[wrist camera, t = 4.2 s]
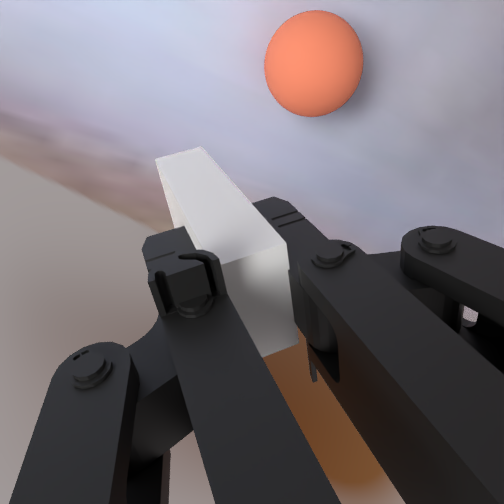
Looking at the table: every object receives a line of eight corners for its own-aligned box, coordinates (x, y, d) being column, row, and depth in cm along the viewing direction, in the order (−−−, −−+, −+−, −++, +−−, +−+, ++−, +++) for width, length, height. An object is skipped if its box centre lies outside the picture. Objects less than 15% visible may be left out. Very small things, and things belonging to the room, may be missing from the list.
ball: (257, 114, 28) (293, 138, 24) (244, 18, 25) (283, 25, 20) (334, 94, 29) (382, 114, 25) (330, -1, 26) (384, 2, 22)
